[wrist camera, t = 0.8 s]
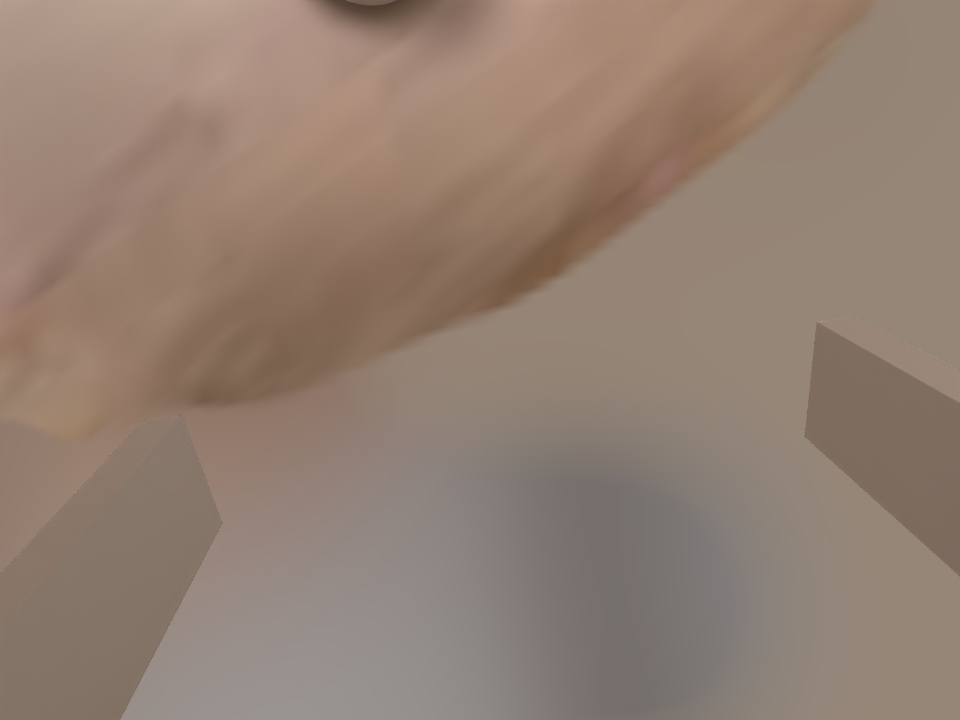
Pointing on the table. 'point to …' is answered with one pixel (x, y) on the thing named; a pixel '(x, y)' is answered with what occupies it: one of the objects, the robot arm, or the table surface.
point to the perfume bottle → (371, 2)
